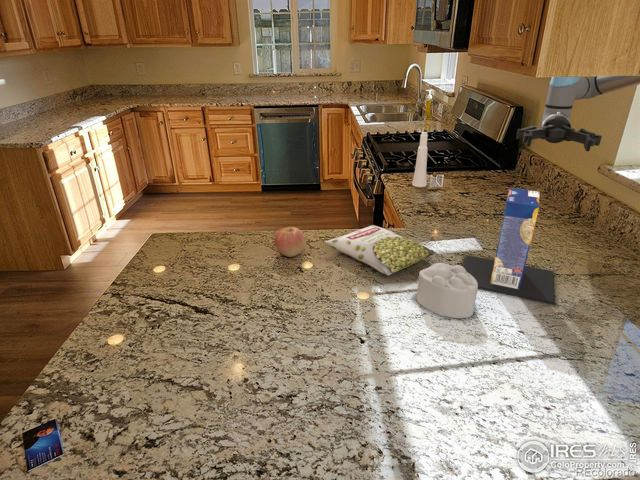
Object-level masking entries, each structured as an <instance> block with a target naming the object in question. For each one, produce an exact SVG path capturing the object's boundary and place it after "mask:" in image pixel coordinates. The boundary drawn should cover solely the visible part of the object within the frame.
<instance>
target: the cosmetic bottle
mask: <svg viewBox="0 0 640 480" xmlns="http://www.w3.org/2000/svg"><path fill="white" fill-rule="evenodd" d="M428 137H429V135H428V132H427V131H421V134H420V138H419V146H418V147H417V155H416V161H415V168H414V173H413V178H412V182H411V185H412V186H413V187H416V188H425V187H427V185H428V184H427V164H428V163H427V162H428Z"/></svg>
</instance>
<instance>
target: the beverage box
mask: <svg viewBox="0 0 640 480" xmlns="http://www.w3.org/2000/svg"><path fill="white" fill-rule="evenodd" d="M539 209H540V191H539V190H532V189H531V190H529V189H523V188H513V187H509V188H508V193H507V198H506V203H505V208H504V213H503V217H502V223H501V228H500V232H499V238H498V243H497V248H496V252H495V258H494V260H495V262H494V267H493V272H492V277H491V282H490V283H491V284H496V285H501V286H506V287H510V288H515V289H520V286H521V282H522V277H523V273H524V269H525V266H527V265H526V264H527V260H528V256H529V252H530V247H531V243H532V239H533V235H534V230H535V226H536V222H537V218H538V215H539Z"/></svg>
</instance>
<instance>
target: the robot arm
mask: <svg viewBox="0 0 640 480" xmlns="http://www.w3.org/2000/svg"><path fill="white" fill-rule="evenodd" d="M635 86H640V76H596V77H552V76H551V80H550V81H549V87H548V90H547V97H546V100H545V106H544V109H543V115H542V117H541V121H540V127H541V128H538V126H537V125H535V124H532V125H530V126H527V127H522V128H518V129H517V132H516V138H515V139H516V140H522V143H523V144H526V147H531V143H532V140H538V139H540V140H544V141H546V142H548V143H551V144H559V143H562V142H565V141H566V142H575V143H579V144H582V145H583V148H584V150H585V152H590V150H591V147H594V146H596V147H599V146H600V145H601V142H602V139H603V137H602V135H601V134H598V133H596V132H592V131H589V130H587V129H585V128H579V129H578V130H576V129H575V128H573V127H572V125H571V122H570V119H571V114H572V110H573V106H574V102H575V101H577V100H589V99H592V98H595V97H598V96H601V95H604V94H608V93H612V92H617V91H620V90H623V89H627V88H632V87H635Z"/></svg>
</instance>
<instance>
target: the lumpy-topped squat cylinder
mask: <svg viewBox="0 0 640 480" xmlns="http://www.w3.org/2000/svg"><path fill="white" fill-rule="evenodd" d="M478 289H479V288H478V283H477V281H476V279H475V278H474V277H473V276H472V275H471V274H469V273H468V272H467V271H466V270H465V268H464V267H463V266H462V265H460V264H455V265H451V264H448V263H445V262H435V263H432V264H431V265H430V266H429V267H427V268H426V267H425V268H424V269H422V270H420V271H419V274H418V282H417V290H416V301H417V302H418V303H419V305H421V306H423V307H424V308H425V309H427V310H429V311H431V312H433V313H435V314H437V315H440V316H442V317H446V318H447V317H448V318H454V319H465V318H470V317H472V316H473V315H474V310H475V305H476V300H477V294H478Z"/></svg>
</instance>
